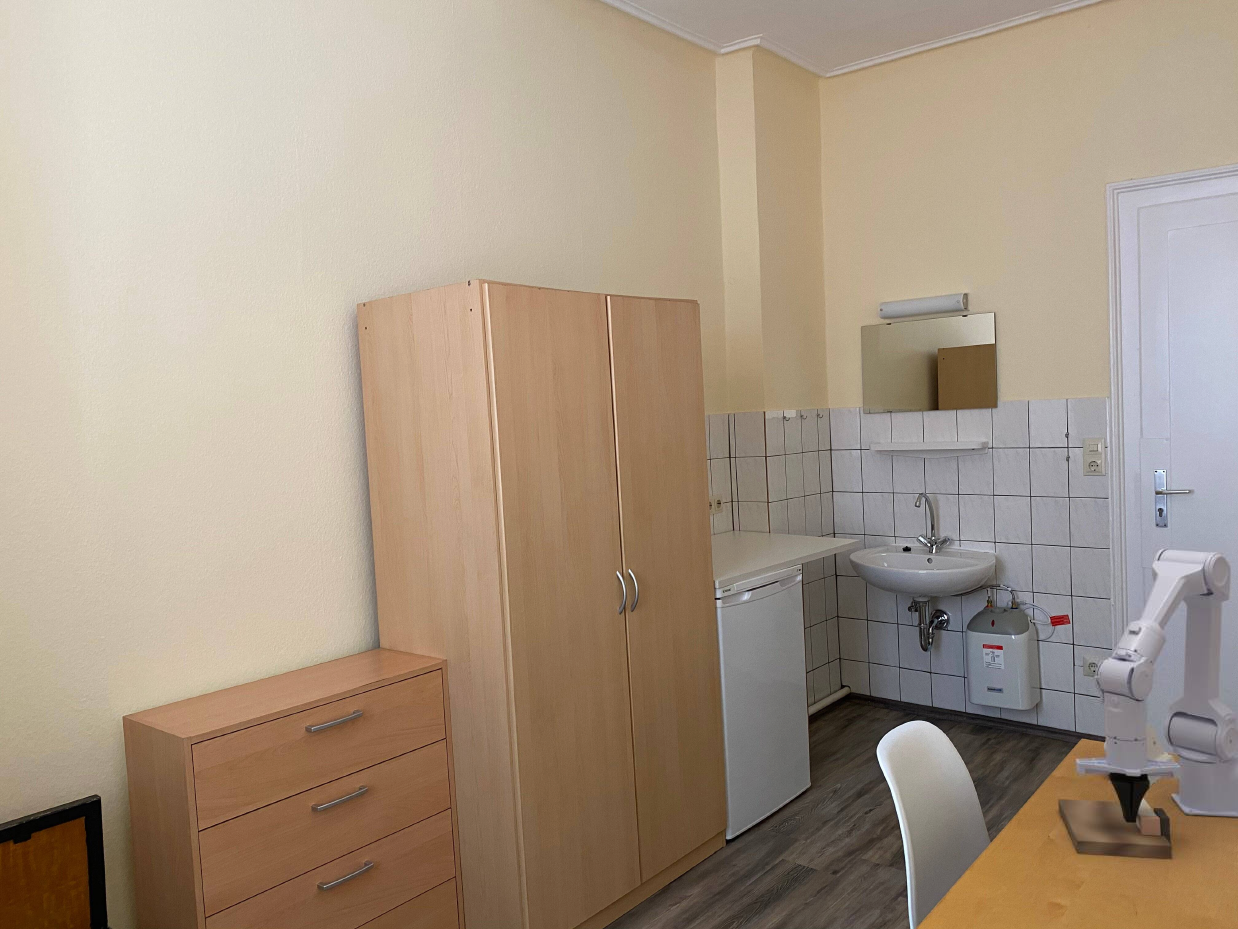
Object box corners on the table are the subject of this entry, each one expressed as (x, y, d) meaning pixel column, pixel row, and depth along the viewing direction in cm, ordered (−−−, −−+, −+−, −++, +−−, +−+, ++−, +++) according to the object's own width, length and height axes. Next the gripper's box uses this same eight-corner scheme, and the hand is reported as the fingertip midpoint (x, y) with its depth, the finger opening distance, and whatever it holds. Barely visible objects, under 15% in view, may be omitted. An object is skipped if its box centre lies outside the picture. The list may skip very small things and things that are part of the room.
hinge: (1144, 790, 166) (1122, 735, 168) (1118, 793, 169) (1096, 738, 171) (1177, 764, 177) (1156, 712, 179) (1152, 767, 180) (1131, 716, 182)
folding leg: (1118, 802, 157) (1118, 786, 156) (1139, 803, 156) (1139, 787, 156) (1139, 834, 144) (1139, 817, 144) (1162, 835, 143) (1162, 818, 143)
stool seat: (1147, 815, 156) (1146, 786, 156) (1177, 859, 140) (1176, 828, 140) (1058, 810, 160) (1057, 783, 159) (1077, 853, 144) (1076, 823, 144)
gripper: (1080, 742, 144) (1084, 828, 145) (1185, 745, 140) (1189, 833, 141) (1071, 727, 151) (1075, 810, 151) (1171, 730, 147) (1175, 814, 147)
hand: (1129, 820), depth 147 cm, fingers closed
